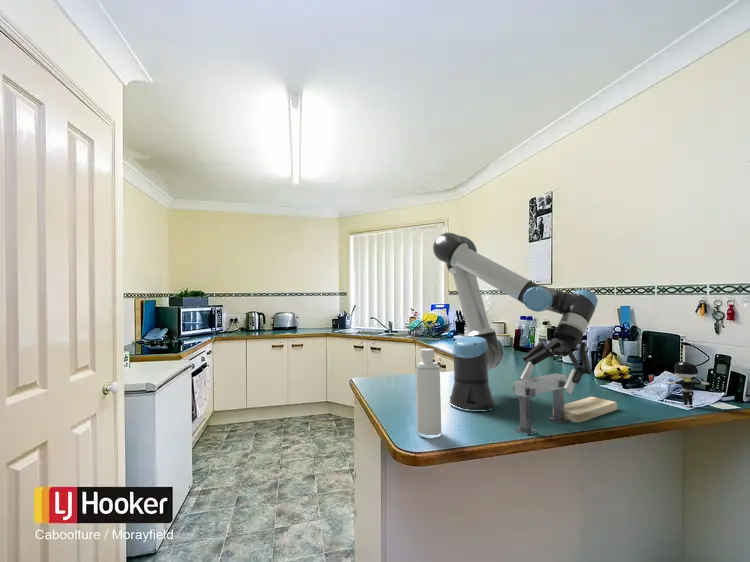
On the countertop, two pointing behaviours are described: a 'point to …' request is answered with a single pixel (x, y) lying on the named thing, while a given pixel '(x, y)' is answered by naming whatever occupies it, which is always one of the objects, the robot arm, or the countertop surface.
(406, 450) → the countertop surface
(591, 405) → the board
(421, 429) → the grey bottle
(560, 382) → the rail
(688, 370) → the toy
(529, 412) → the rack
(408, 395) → the countertop surface
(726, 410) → the countertop surface
